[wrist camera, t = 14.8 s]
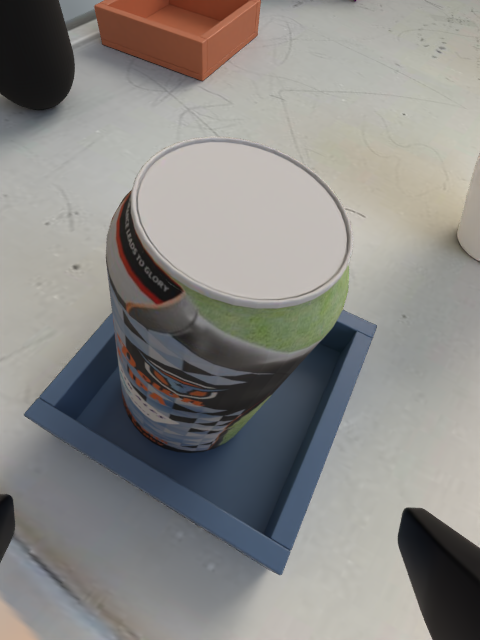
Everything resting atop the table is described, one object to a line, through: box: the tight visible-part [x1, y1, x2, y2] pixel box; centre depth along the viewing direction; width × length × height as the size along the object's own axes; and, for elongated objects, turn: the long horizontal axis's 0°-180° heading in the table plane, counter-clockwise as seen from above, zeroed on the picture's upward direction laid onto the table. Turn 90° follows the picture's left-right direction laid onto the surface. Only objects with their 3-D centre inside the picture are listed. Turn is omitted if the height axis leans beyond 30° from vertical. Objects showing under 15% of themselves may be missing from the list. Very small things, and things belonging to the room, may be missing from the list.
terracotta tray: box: [95, 0, 261, 81], centre depth 35 cm, size 11×11×3 cm
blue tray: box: [24, 310, 377, 575], centre depth 17 cm, size 11×11×3 cm
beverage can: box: [106, 137, 353, 453], centre depth 13 cm, size 6×7×12 cm
